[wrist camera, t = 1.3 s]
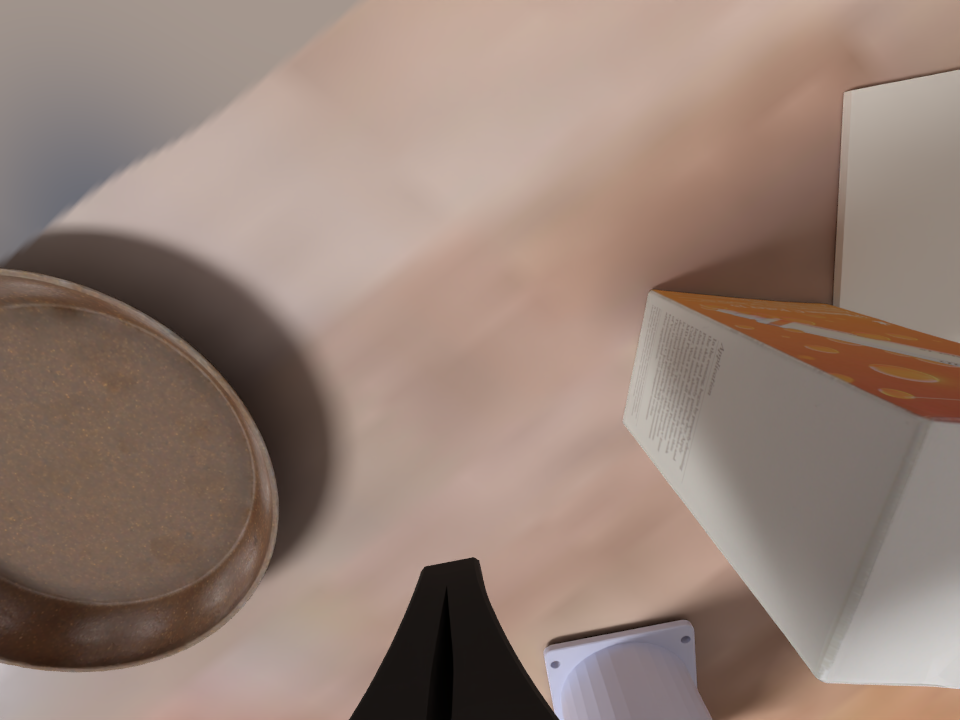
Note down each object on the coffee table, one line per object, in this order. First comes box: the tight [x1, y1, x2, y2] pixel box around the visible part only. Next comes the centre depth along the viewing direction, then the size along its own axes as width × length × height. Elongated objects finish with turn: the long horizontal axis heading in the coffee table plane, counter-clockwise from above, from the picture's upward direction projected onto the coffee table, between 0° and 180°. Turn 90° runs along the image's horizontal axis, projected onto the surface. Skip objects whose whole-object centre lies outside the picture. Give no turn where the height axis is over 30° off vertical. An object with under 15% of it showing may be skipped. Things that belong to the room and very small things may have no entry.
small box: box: [623, 289, 960, 689], centre depth 16 cm, size 8×6×13 cm
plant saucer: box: [0, 268, 279, 672], centre depth 21 cm, size 18×18×3 cm
